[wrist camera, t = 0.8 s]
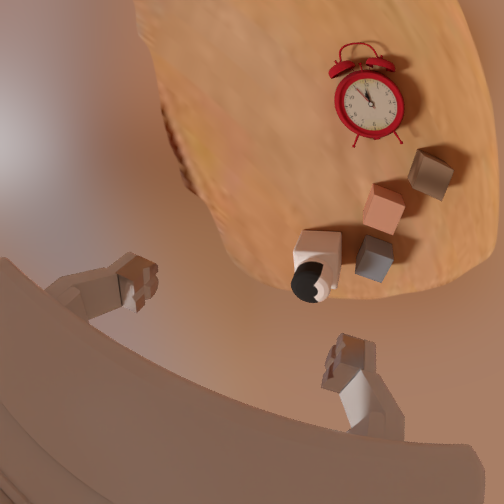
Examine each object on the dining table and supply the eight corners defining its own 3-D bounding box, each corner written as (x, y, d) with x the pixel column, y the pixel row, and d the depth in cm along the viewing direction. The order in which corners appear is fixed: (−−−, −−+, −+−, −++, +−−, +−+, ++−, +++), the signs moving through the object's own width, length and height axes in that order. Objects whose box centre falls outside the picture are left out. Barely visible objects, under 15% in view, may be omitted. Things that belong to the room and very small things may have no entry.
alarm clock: (343, 152, 35) (314, 50, 25) (343, 136, 39) (318, 48, 29) (414, 147, 30) (395, 40, 21) (405, 131, 34) (387, 39, 25)
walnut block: (417, 148, 33) (424, 156, 29) (444, 161, 32) (454, 170, 28) (407, 177, 36) (412, 188, 32) (433, 189, 35) (441, 201, 31)
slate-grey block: (366, 234, 44) (365, 249, 40) (391, 243, 43) (393, 260, 39) (356, 256, 47) (354, 273, 43) (380, 265, 46) (381, 282, 42)
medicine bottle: (304, 262, 52) (288, 305, 42) (301, 229, 48) (284, 269, 39) (341, 265, 49) (332, 310, 40) (341, 231, 45) (333, 273, 36)
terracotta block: (372, 183, 39) (374, 194, 35) (401, 194, 38) (405, 206, 34) (363, 210, 42) (363, 224, 38) (390, 220, 41) (392, 235, 37)
